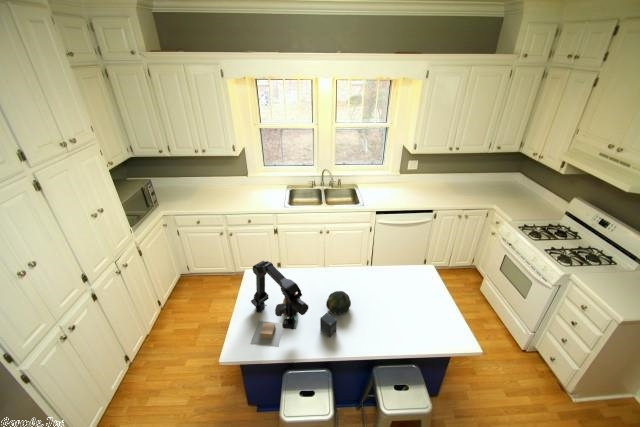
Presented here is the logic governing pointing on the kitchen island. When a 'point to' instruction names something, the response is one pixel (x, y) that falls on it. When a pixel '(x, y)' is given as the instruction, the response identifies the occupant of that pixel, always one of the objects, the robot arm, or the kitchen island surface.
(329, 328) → the box
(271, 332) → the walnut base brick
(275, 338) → the baseplate
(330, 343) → the kitchen island surface
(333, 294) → the squash
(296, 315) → the teal brick
